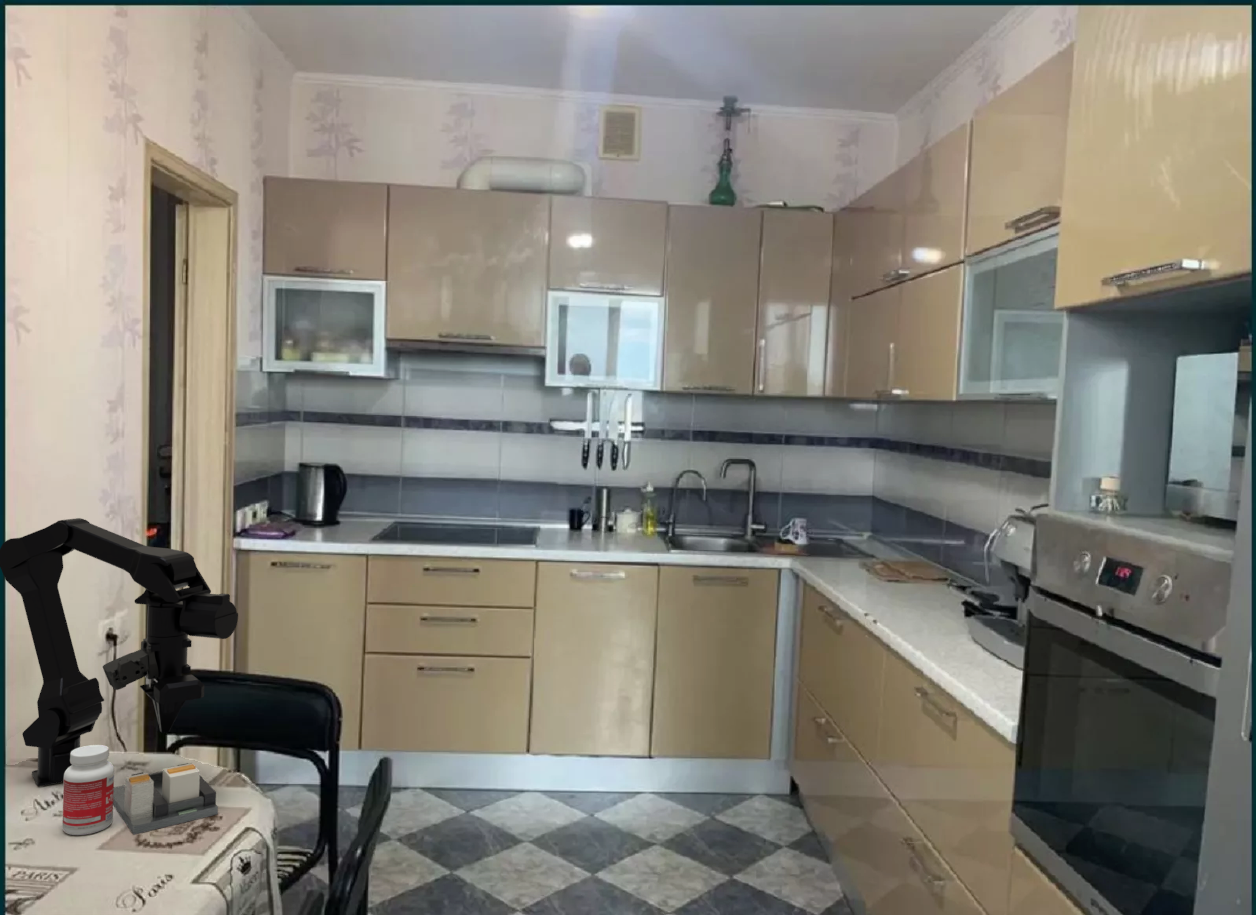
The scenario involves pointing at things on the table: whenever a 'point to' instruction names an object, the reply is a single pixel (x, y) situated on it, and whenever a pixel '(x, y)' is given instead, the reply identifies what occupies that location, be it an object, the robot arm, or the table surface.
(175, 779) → the block
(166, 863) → the table surface
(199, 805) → the grey desk organizer
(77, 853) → the table surface
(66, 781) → the pill bottle
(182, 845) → the table surface
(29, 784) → the table surface
